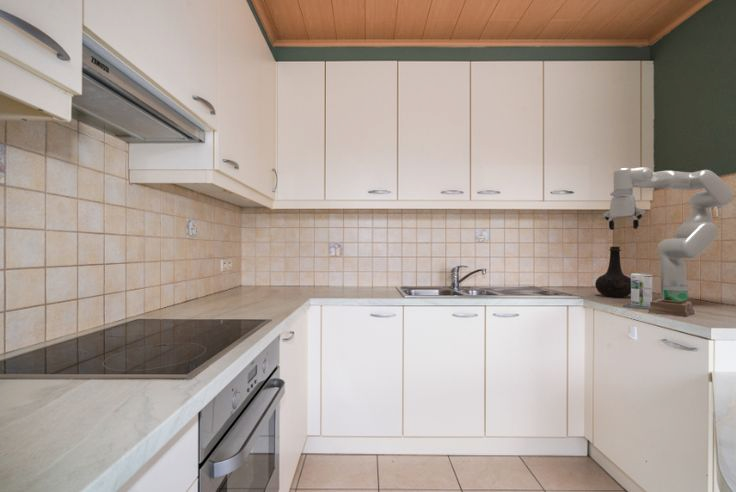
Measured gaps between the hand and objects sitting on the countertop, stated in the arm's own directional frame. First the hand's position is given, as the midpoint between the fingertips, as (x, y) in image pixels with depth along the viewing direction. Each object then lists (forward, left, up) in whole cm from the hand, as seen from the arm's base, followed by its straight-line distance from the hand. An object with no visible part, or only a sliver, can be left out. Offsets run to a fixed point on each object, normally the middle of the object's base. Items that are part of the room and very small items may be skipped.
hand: (623, 229), depth 171 cm
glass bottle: (-26, -13, -36) cm, 47 cm away
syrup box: (+5, +8, -36) cm, 37 cm away
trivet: (+5, +8, -36) cm, 38 cm away
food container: (-8, +19, -36) cm, 42 cm away
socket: (+13, +21, -36) cm, 44 cm away
